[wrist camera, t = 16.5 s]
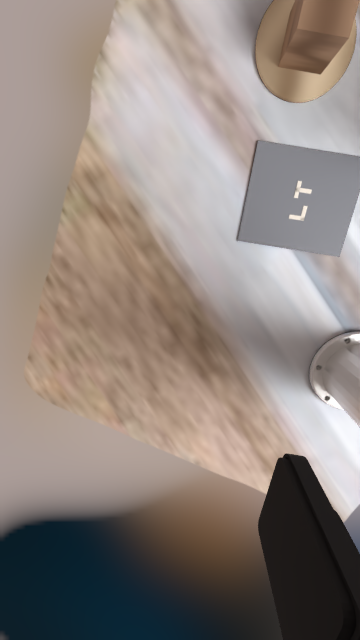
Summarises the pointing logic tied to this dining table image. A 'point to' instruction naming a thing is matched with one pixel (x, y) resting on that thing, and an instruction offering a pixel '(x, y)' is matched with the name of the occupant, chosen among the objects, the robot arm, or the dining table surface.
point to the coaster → (289, 81)
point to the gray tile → (300, 198)
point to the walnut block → (316, 33)
